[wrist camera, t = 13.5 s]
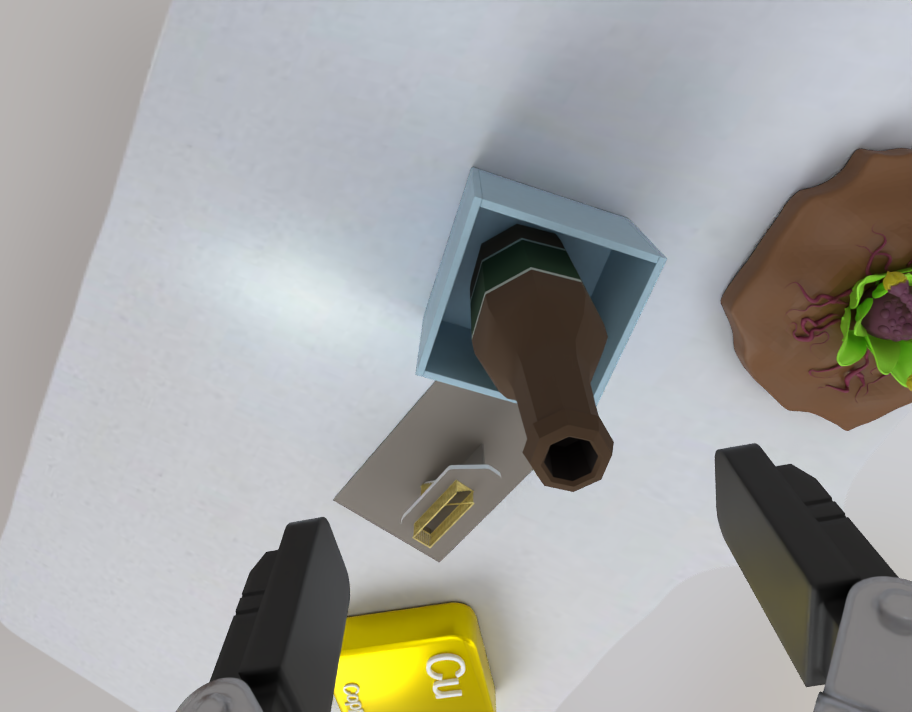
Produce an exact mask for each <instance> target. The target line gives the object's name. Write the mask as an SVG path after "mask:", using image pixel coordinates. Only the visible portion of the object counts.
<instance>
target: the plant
mask: <svg viewBox="0 0 912 712" xmlns="http://www.w3.org/2000/svg"><path fill="white" fill-rule="evenodd" d="M721 304H722V306H723V309H724V311H725V314H726V316H727V318H728V320H729V322H730V325H731V328H732V331H733V340H734V349H735V352H736V354H737V356H738V358H739V360H740V361H741V363H742V365H743V366H744V368H745V369H746V370H747V371H748V372H749V374H750V375H751V376H752V377H753V378H754V379H755V380H756V381H757V382H758V383H759V384H760V385H761V386H762V387H763V388H764V389H765V390H766V391H767V392H768V393H769V394H770V395H771V396H773V397H774V398H775V399H776V400H777V401H778V402H779V403H780V404H781V405H782V406H783V407H784V408H786V409H787V410H790V411H802V412H810V413H814V414H816V415H818V416H821V417H823V418H825V419H827V420H829V421H831V422H832V423H834V424H837V425H838V426H839V427H841V428H842V429H844V430H846V431H849V430H851V429H853V428H855V427H858V426H860V425H863V424H866V423H869V422H871V421H873V420H876V419H878V418H880V417H882V416H884V415H886V414H887V413H889V412H891V411H893V410H895V409H897V408H899V407H902V406H905V405H907V404H910V403H912V149H906V148H898V149H891V150H885V151H874V150H866V149H858V150H856V151H855V152H854V153H853V155H852V156H851V158H850V159H849V161H848V163H847V164H846V166H845V167H844V168H843V170H842V171H841V172H839V173H838V174H837V175H836V176H835V177H833V178H832V179H830V180H828V181H827V182H825V183H823V184H820V185H818V186H815V187H812V188H808V189H804V190H800V191H798V192H797V193H796V194H795V195H794V196H793V197H792V198H791V199H790V200H789V201H788V202H787V204H786V205H785V206H784V208H783V209H782V211H781V213H780V214H779V216H778V217H777V219H776V220H775V221H774V223H773V224H772V225H771V227H770V228H769V230H768V231H767V233H766V234H765V235H764V237H763V238H762V240H761V241H760V243H759V244H758V246H757V247H756V249H755V250H754V252H753V253H752V255H751V256H750V258H749V259H748V261H747V262H746V263H745V265H744V266H743V267H742V268H741V270H740V271H739V272H738V274H737V275H736V276H735V277H734V279H733V281H732V282H731V283H730V285H729V286H728V288H727V289H726V291H725V292H724V294H723V296H722V298H721Z"/></svg>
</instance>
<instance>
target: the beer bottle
mask: <svg viewBox="0 0 912 712" xmlns="http://www.w3.org/2000/svg"><path fill="white" fill-rule="evenodd" d="M470 307H471V335H472V344H473V349H474V353H475V355H476V356H477V358H478V360H479V361H480V363H481V364H482V366H483V367H484V369H485V371H486V372H487V374H488V375H489V377H490V378H491V380H492V381H493V383H494V385H495V386H496V388H497V389H498V391H499V392H500V393H501V394H502V395H503V396H504V397H506V398H507V399H511V400H515V401H517V405H518V408H519V412H520V415H521V419H522V422H523V426H524V429H525V433H526V437H527V441H526V444H525V446H524V449H523V452H522V453H523V454H524V456H525V457H526V459H527V460H528V462H529V463H530V465H531V466H532V468H533V470H534V471H535V473H536V474H537V476H538V477H539V479H540V480H541V482H542V483H543V484H544V486H548V487H553V488H558V489H562V490H567V491H571V492H574V491H577V490H579V489H581V488H583V487H585V486H588V485H590V484H592V483H594V482H597V481H599V480H601V479H602V477H603V474H604V472H605V470H606V467H607V465H608V463H609V461H610V458H611V456H612V451H613V443H614V442H613V440H612V438H611V437H610V435H609V433H608V431H607V430H606V428H605V426H604V424H603V423H602V421H601V419H600V417H599V416H598V412H597V408H596V404H595V400H594V396H593V392H592V388H591V384H590V383H591V381H592V378H593V376H594V373H595V371H596V368H597V366H598V363H599V360H600V358H601V355H602V353H603V350H604V347H605V344H606V341H607V338H608V335H607V332H606V329H605V326H604V323H603V321H602V319H601V317H600V315H599V313H598V311H597V309H596V307H595V305H594V303H593V301H592V299H591V297H590V295H589V294H588V292H587V290H586V288H585V286H584V284H583V282H582V280H581V278H580V276H579V274H578V272H577V270H576V268H575V266H574V265H573V263H572V261H571V259H570V257H569V255H568V253H567V251H566V249H565V248H564V246H563V244H562V242H561V240H560V239H559V237H558V236H557V235H556V234H555V233H551V232H547V231H543V230H539V229H536V228H532V227H528V226H524V225H520V224H515V225H514V226H512V227H510V228H508V229H507V230H505V231H503V232H501V233H500V234H498V235H496V236H494V237H493V238H491V239H489V240H487V241H485V242H484V243H482V244H481V247H480V251H479V254H478V258H477V261H476V265H475V268H474V272H473V275H472V279H471V284H470Z"/></svg>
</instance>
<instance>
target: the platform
mask: <svg viewBox="0 0 912 712" xmlns="http://www.w3.org/2000/svg"><path fill="white" fill-rule="evenodd" d="M526 441H527V437H526V433H525V429H524V426H523V422H522V419H521V415H520V412H519V408H518V405H517V403H513V402H510V401H506V400H503V399H499V398H496V397H492V396H489V395H485V394H482V393H478V392H474V391H471V390H467V389H464V388H460V387H457V386H453V385H450V384H446V383H443V382H439V381H435V382H434V384H433V385H432V386H431V387H430V388H429V389H428V391H427V392H426V393H425V394H424V395H423V396H422V397H421V399H420V400H419V401H418V402H417V403H416V404H415V406H414V407H413V408H412V409H411V410H410V411H409V413H408V414H407V415H406V416H405V417H404V418H403V420H402V421H401V422H400V423H399V424H398V425H397V426H396V428H395V429H394V430H393V431H392V432H391V433H390V435H389V436H388V437H387V438H386V439H385V440H384V442H383V443H382V444H381V445H380V446H379V447H378V448H377V450H376V451H375V452H374V453H373V454H372V455H371V457H370V458H369V459H368V460H367V461H366V462H365V464H364V465H363V466H362V467H361V468H360V469H359V471H358V472H357V473H356V474H355V475H354V476H353V477H352V479H351V480H350V481H349V482H348V483H347V484H346V486H345V487H344V488H343V489H342V490H341V491H340V493H339V494H338V495H337V496H336V497H335V498H334V499H333V500H334V501H336V502H337V503H339V504H341V505H342V506H344V507H346V508H348V509H349V510H351V511H353V512H354V513H356V514H358V515H359V516H361V517H363V518H365V519H366V520H368V521H370V522H371V523H373V524H375V525H376V526H378V527H380V528H382V529H383V530H385V531H387V532H388V533H390V534H392V535H394V536H395V537H397V538H399V539H400V540H402V541H404V542H405V543H407V544H409V545H411V546H412V547H414V548H416V549H417V550H419V551H421V552H422V553H424V554H426V555H428V556H429V557H431V558H433V559H434V560H436V561H438V562H440V561H441V560H442V559H443V558H444V557H445V556H446V555H447V554H448V553H449V552H451V551H452V550H453V549H454V548H455V547H456V546H457V545H458V544H459V543H460V542H461V541H462V540H463V539H464V538H465V537H466V536H467V535H468V534H469V533H470V532H471V531H472V530H473V529H474V528H475V527H476V526H477V525H478V524H479V523H480V522H481V521H482V520H483V519H484V518H485V517H486V516H487V515H488V514H489V513H490V512H491V511H492V510H493V509H494V508H495V507H496V506H497V505H498V504H499V503H500V502H501V501H502V500H503V499H504V498H505V497H506V496H507V495H508V494H509V493H510V492H511V491H512V490H513V489H514V488H515V487H516V486H517V485H518V484H519V483H520V482H521V481H522V480H523V479H524V478H525V477H526V476H527V475H528V474H529V473H530V472H531V471H532V470H533V468H532V466H531V465H530V463H529V462H528V460H527V459H526V457H525V456H524V454H523V453H522V452H523V449H524V446H525V444H526Z"/></svg>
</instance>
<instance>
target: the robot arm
mask: <svg viewBox="0 0 912 712" xmlns="http://www.w3.org/2000/svg"><path fill="white" fill-rule="evenodd" d="M715 481H716V509H717V517H718V522H719V526H720V529H721V532H722V535H723V537H724V539H725V541H726V543H727V545H728V547H729V549H730V551H731V552H732V554H733V556H734V558H735V560H736V561H737V563H738V565H739V567H740V568H741V570H742V572H743V574H744V576H745V578H746V579H747V581H748V583H749V585H750V587H751V588H752V590H753V592H754V594H755V596H756V598H757V599H758V601H759V603H760V605H761V607H762V608H763V610H764V612H765V614H766V616H767V617H768V619H769V621H770V623H771V625H772V626H773V628H774V630H775V632H776V633H777V635H778V637H779V639H780V641H781V643H782V645H783V646H784V648H785V650H786V652H787V654H788V655H789V657H790V659H791V661H792V663H793V664H794V666H795V668H796V670H797V672H798V673H799V675H800V677H801V679H802V680H803V682H804V684H805V686H806V687H810V686H817V685H824V684H825V688H824V691H823V692H819V695H818V697H817V700H816V704H815V708H814V711H813V712H912V581H909V580H906V579H901V578H899V577H898V576H897V575H896V574H895V573H894V572H893V570H892V569H891V568H890V567H889V566H888V564H887V563H886V562H885V561H884V560H883V558H882V557H881V556H880V555H879V554H878V552H877V551H876V550H875V549H874V548H873V547H872V545H871V544H870V543H869V542H868V540H867V539H866V538H865V537H864V536H863V534H862V533H861V532H860V531H859V530H858V528H857V527H856V526H855V525H854V524H853V522H852V521H851V520H850V519H849V518H848V517H847V518H846V516H845V513H844V512H843V511H842V509H841V508H840V507H839V506H838V505H837V503H836V502H835V501H834V502H833V501H832V497H831V496H830V495H829V494H828V493H827V491H826V490H825V489H824V488H823V487H822V485H821V484H820V483H819V482H818V481H817V479H816V478H814V477H812V476H811V475H809V474H807V473H805V472H804V471H802V470H800V469H799V468H797V467H795V466H794V465H792V464H787V465H781V466H775V465H774V464H773V463H772V461H771V460H770V459H769V457H768V456H767V455H766V453H765V452H764V451H763V450H762V448H761V447H760V446H759V445H758V444H756V443H753V444H747V445H742V446H736V447H730V448H724V449H719V450H717V451H716V453H715ZM349 601H350V584H349V577H348V573H347V570H346V567H345V564H344V561H343V559H342V556H341V553H340V551H339V548H338V546H337V543H336V540H335V538H334V535H333V532H332V530H331V527H330V524H329V522H328V520H327V519H326V518H325V517H320V518H314V519H308V520H303V521H297V522H291V523H289V524H288V525H287V526H286V528H285V531H284V534H283V537H282V540H281V543H280V546H279V549H278V550H275V551H269V552H266V553H265V554H264V556H263V557H262V558H261V559H260V560H259V562H258V563H257V564H256V565H255V567H254V568H253V569H252V570H251V572H250V573H249V576H248V579H247V581H246V584H245V587H244V590H243V592H242V598H240V601H239V603H238V606H237V609H236V616H234V617H233V620H232V622H231V625H230V628H229V630H228V633H227V636H226V639H225V641H224V644H223V647H222V649H221V652H220V655H219V658H218V660H217V663H216V666H215V668H214V671H213V674H212V677H211V679H210V682H209V683H207V684H205V685H203V686H202V687H200V688H198V689H197V690H196V691H194V692H193V693H192V694H191V695H190V696H189V697H187V698H186V699H185V700H184V702H183V703H182V704H181V705H180V706H179V708H178V709H177V711H176V712H331V706H332V700H333V694H334V688H335V683H336V677H337V671H338V665H339V659H340V654H341V648H342V642H343V636H344V630H345V625H346V619H347V613H348V607H349Z"/></svg>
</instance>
